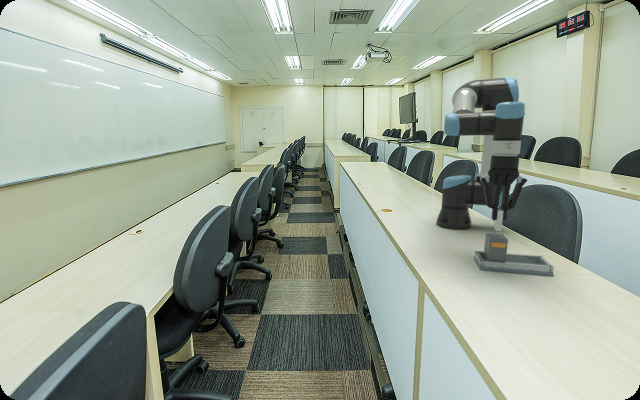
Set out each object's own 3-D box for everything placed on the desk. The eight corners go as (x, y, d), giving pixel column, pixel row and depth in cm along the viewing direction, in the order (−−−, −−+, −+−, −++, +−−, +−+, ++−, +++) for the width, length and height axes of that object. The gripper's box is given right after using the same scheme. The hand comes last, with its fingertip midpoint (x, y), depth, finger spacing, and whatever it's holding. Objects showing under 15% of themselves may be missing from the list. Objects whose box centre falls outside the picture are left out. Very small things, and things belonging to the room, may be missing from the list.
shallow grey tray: (473, 258, 110) (474, 250, 110) (539, 263, 105) (540, 255, 105) (480, 270, 101) (481, 261, 100) (553, 276, 96) (554, 267, 95)
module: (483, 258, 108) (485, 232, 106) (499, 259, 106) (502, 233, 104) (487, 265, 102) (490, 238, 100) (505, 266, 100) (508, 239, 99)
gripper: (484, 155, 95) (477, 231, 100) (534, 155, 92) (524, 234, 96) (479, 154, 102) (472, 225, 107) (524, 154, 99) (516, 227, 103)
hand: (497, 229), depth 101 cm, fingers closed
